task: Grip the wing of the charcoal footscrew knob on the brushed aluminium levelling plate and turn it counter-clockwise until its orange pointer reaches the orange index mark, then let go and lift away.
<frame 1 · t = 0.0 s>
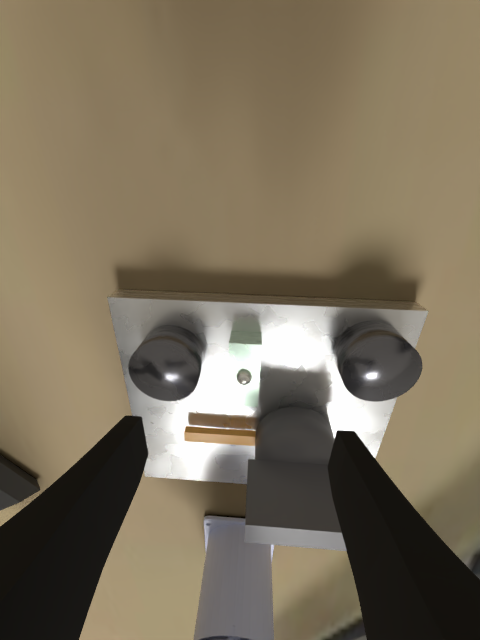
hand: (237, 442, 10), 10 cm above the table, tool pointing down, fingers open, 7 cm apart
knob: (262, 475, 18), point 5 cm above the table, hinge at 0.0°
levelling plate: (256, 397, 22), on the table
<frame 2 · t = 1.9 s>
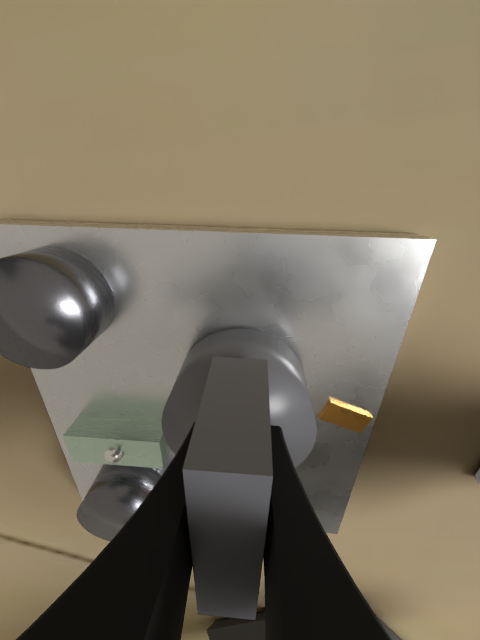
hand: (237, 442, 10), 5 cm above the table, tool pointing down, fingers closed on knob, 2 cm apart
knob: (235, 486, 11), point 5 cm above the table, hinge at 0.0°, touching gripper
computer monitor: (312, 631, 31), on the table
levelling plate: (209, 401, 16), on the table
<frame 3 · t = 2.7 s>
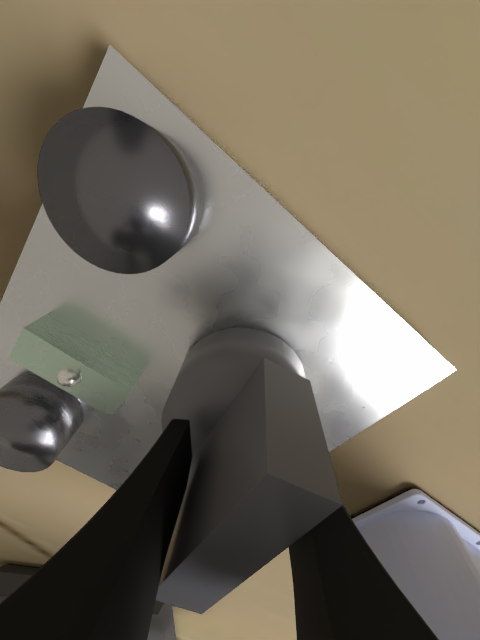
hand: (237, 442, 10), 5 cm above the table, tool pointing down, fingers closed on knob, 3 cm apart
knob: (208, 479, 11), point 5 cm above the table, hinge at 10.9°, touching gripper
computer monitor: (99, 601, 31), on the table
levelling plate: (183, 373, 15), on the table
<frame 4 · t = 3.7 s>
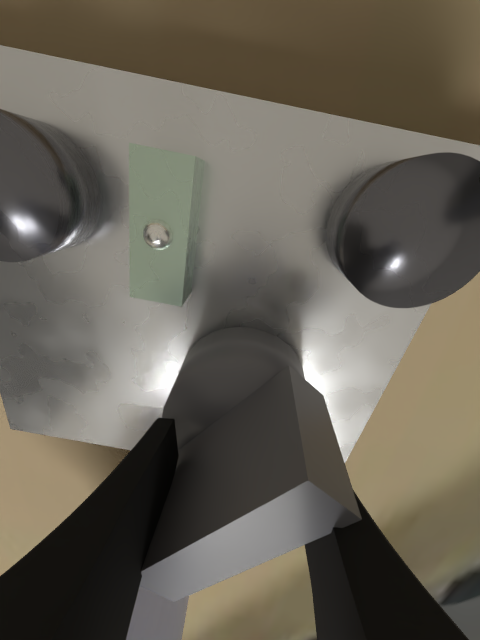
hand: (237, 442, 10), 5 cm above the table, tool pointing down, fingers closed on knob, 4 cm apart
knob: (195, 469, 11), point 5 cm above the table, hinge at 57.2°, touching gripper
levelling plate: (193, 318, 14), on the table
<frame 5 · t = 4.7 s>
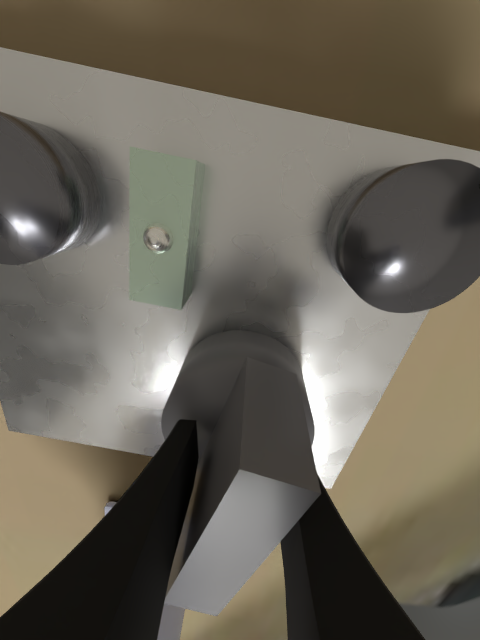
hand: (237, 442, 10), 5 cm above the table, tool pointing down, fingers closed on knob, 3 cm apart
knob: (215, 482, 11), point 5 cm above the table, hinge at 80.4°, touching gripper
levelling plate: (193, 320, 14), on the table
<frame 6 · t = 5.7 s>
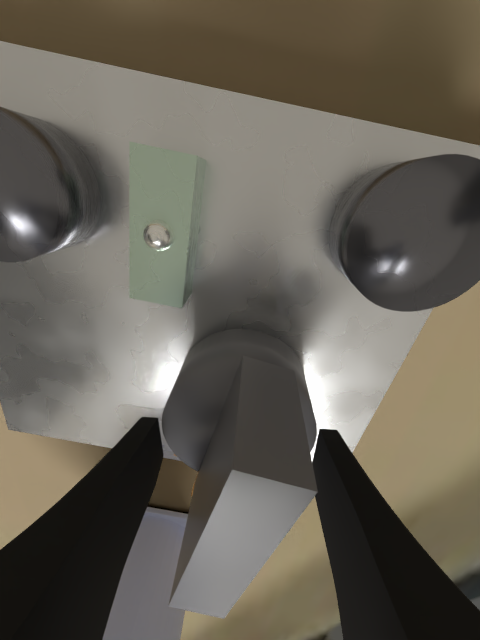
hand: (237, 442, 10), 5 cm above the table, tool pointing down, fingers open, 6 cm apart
knob: (219, 483, 11), point 5 cm above the table, hinge at 83.4°
levelling plate: (194, 319, 14), on the table
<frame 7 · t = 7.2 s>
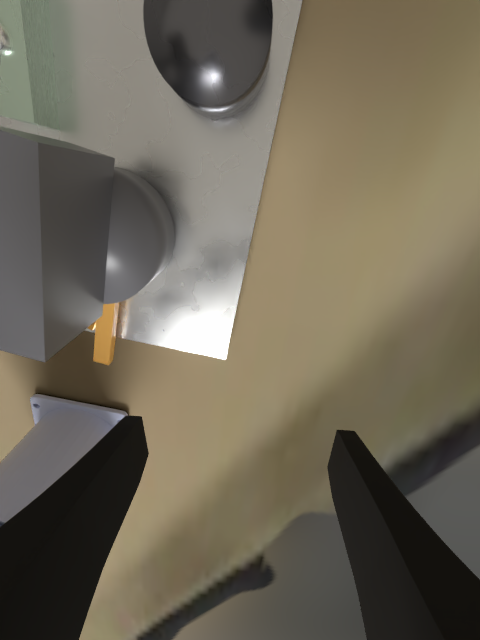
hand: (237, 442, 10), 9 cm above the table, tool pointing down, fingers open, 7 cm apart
knob: (78, 295, 12), point 5 cm above the table, hinge at 84.4°
levelling plate: (80, 177, 15), on the table
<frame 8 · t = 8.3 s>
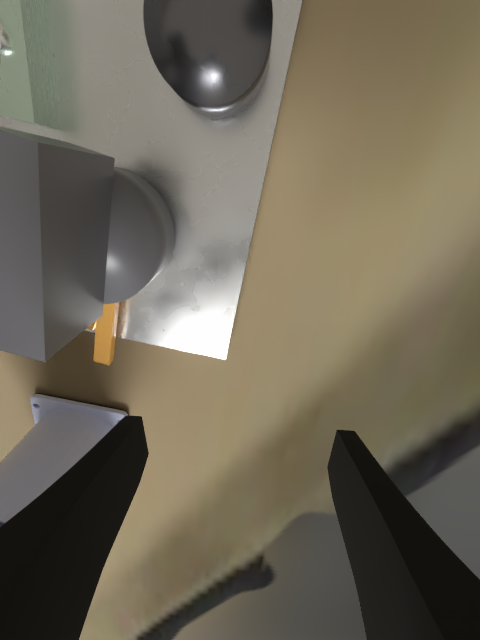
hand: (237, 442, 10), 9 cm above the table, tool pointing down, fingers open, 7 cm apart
knob: (78, 295, 12), point 5 cm above the table, hinge at 84.5°
levelling plate: (80, 177, 15), on the table
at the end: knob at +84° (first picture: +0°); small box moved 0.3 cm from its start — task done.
